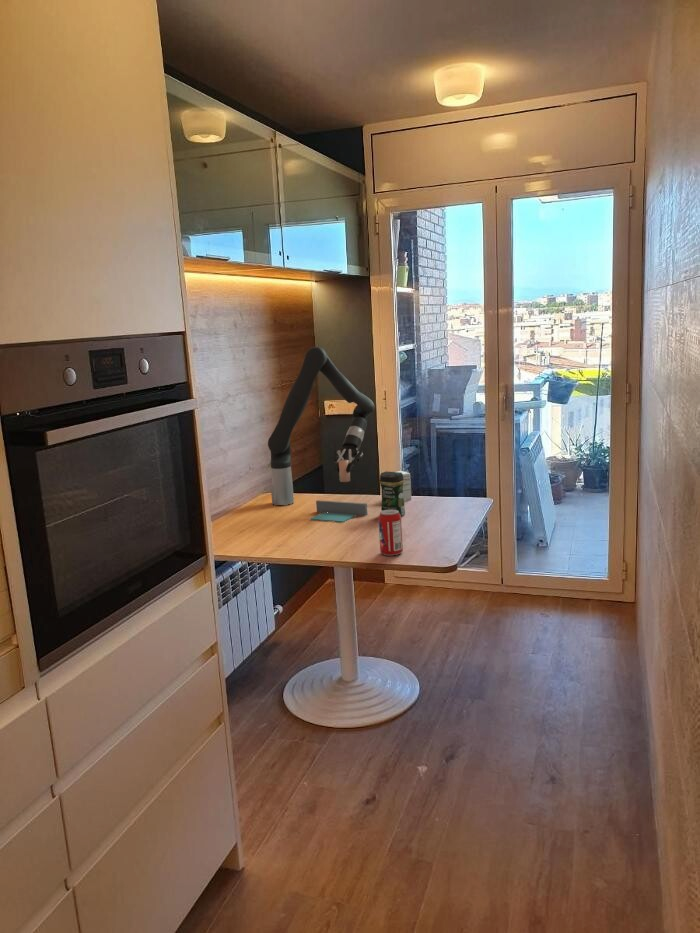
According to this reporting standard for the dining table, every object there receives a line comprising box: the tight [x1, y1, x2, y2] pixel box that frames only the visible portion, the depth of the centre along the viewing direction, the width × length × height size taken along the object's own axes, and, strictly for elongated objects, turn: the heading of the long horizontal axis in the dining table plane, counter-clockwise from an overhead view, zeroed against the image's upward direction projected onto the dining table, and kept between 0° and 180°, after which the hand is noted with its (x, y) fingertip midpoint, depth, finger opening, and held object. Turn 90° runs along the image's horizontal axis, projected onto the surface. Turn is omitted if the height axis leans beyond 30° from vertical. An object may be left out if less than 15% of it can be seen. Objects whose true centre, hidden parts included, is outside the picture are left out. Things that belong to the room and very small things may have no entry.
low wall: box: [315, 499, 368, 517], centre depth 313 cm, size 24×2×5 cm, turn 61°
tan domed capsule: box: [338, 459, 351, 483], centre depth 314 cm, size 4×4×9 cm
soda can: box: [377, 509, 404, 557], centre depth 252 cm, size 8×8×15 cm
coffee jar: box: [379, 470, 406, 518], centre depth 302 cm, size 10×8×19 cm
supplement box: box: [396, 470, 412, 502], centre depth 329 cm, size 7×7×13 cm
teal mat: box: [309, 512, 357, 523], centre depth 307 cm, size 16×11×1 cm
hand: (342, 471), depth 312 cm, fingers closed on tan domed capsule, 4 cm apart
